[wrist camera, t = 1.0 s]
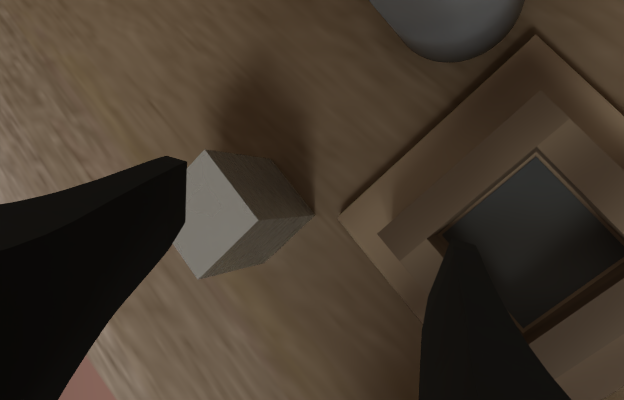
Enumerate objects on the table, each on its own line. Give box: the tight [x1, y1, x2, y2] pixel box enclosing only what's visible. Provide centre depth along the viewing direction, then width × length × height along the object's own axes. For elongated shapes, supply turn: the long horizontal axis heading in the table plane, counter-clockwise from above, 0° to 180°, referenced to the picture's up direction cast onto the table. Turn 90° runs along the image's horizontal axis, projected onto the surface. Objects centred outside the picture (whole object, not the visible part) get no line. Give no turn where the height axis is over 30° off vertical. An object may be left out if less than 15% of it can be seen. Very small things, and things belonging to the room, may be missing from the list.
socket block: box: [337, 35, 624, 400], centre depth 21 cm, size 13×12×3 cm
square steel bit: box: [173, 149, 315, 280], centre depth 25 cm, size 4×4×6 cm
